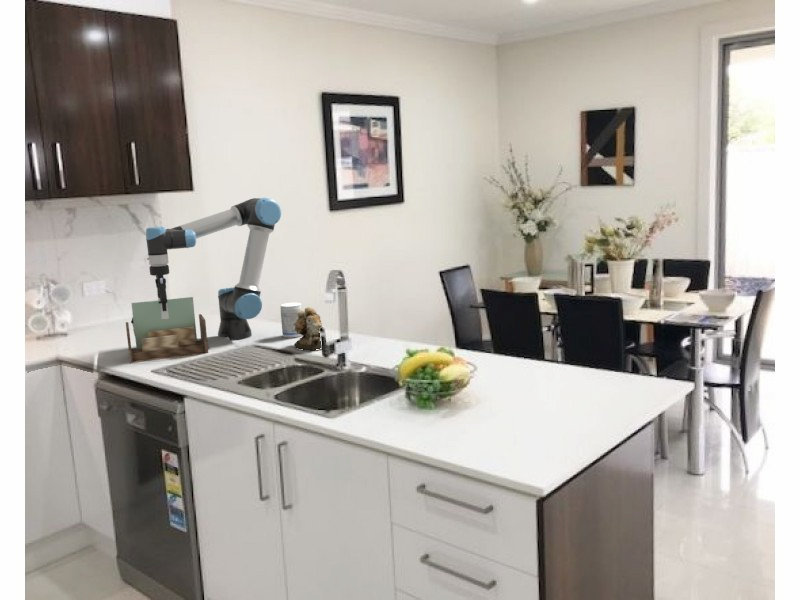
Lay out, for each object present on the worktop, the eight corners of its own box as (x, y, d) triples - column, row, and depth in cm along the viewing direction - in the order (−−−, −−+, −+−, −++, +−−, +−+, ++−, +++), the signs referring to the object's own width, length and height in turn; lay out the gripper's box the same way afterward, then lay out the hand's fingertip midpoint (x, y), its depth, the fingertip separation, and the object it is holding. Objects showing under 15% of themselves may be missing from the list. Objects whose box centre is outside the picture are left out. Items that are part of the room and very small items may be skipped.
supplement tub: (290, 333, 320) (288, 302, 318) (307, 334, 316) (305, 302, 314) (278, 337, 312) (275, 305, 309) (295, 338, 308) (293, 306, 305)
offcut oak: (195, 349, 288) (193, 326, 287) (196, 350, 287) (193, 327, 286) (150, 355, 282) (147, 331, 280) (150, 356, 281) (148, 332, 279)
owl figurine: (286, 346, 295) (283, 307, 292) (309, 341, 302) (306, 303, 299) (309, 352, 281) (307, 311, 278) (333, 347, 289) (330, 307, 286)
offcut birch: (179, 353, 283) (177, 334, 282) (179, 354, 282) (177, 335, 281) (143, 358, 278) (140, 338, 277) (143, 358, 277) (141, 339, 275)
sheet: (197, 348, 292) (192, 296, 288) (197, 348, 290) (192, 297, 287) (137, 355, 283) (131, 303, 279) (137, 356, 282) (131, 303, 278)
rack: (204, 349, 295) (201, 314, 292) (208, 356, 282) (205, 319, 279) (129, 359, 284) (125, 322, 281) (130, 366, 271) (126, 328, 268)
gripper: (147, 263, 290) (152, 312, 294) (150, 268, 268) (156, 322, 271) (166, 261, 293) (171, 310, 297) (170, 267, 270) (176, 320, 274)
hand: (164, 316), depth 284 cm, fingers open, 13 cm apart
